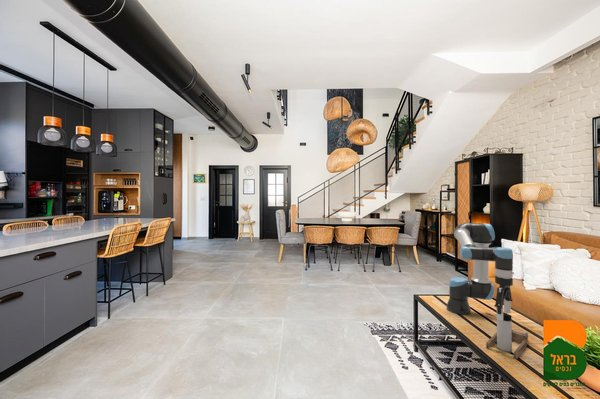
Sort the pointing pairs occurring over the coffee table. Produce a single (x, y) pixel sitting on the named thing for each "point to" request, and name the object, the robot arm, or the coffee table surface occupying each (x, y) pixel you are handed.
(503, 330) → the travel mug
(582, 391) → the coffee table surface
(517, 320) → the coffee table surface
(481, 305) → the coffee table surface
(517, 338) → the bay
